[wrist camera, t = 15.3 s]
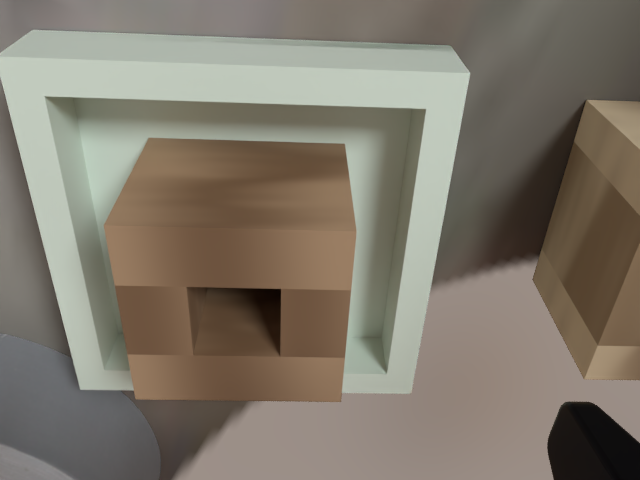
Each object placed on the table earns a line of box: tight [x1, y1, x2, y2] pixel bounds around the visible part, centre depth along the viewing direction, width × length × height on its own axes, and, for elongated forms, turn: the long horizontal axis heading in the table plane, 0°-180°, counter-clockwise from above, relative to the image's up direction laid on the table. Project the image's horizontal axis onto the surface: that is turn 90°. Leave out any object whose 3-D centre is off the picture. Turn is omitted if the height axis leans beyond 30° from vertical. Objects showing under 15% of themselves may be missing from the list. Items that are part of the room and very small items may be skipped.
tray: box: [0, 30, 470, 394], centre depth 20 cm, size 12×12×2 cm
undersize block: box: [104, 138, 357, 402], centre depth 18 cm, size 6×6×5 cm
